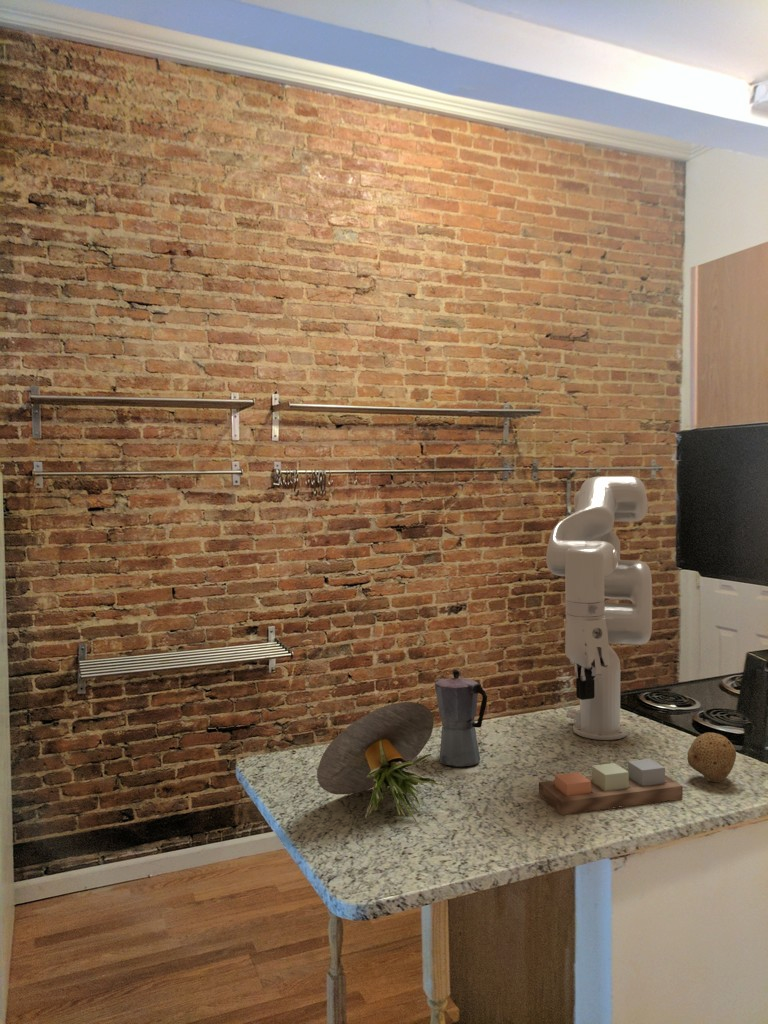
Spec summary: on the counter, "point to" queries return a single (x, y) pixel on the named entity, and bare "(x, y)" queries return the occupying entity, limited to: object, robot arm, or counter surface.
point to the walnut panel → (609, 796)
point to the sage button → (610, 777)
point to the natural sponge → (712, 756)
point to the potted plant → (379, 755)
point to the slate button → (646, 772)
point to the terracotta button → (572, 784)
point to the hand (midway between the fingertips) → (585, 697)
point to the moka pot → (459, 719)
